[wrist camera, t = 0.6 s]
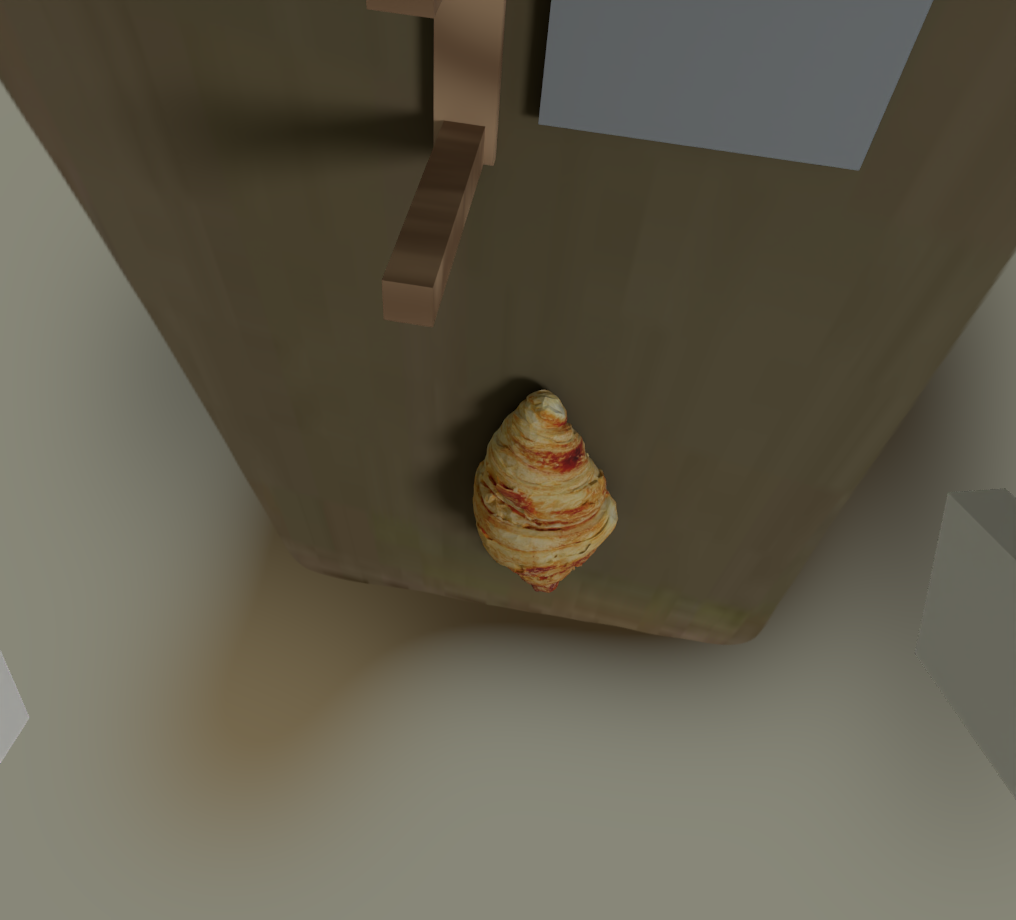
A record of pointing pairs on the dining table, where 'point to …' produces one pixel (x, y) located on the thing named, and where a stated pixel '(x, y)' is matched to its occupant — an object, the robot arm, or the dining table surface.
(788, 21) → the pad
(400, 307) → the slalom posts
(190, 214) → the dining table surface
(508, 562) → the croissant
